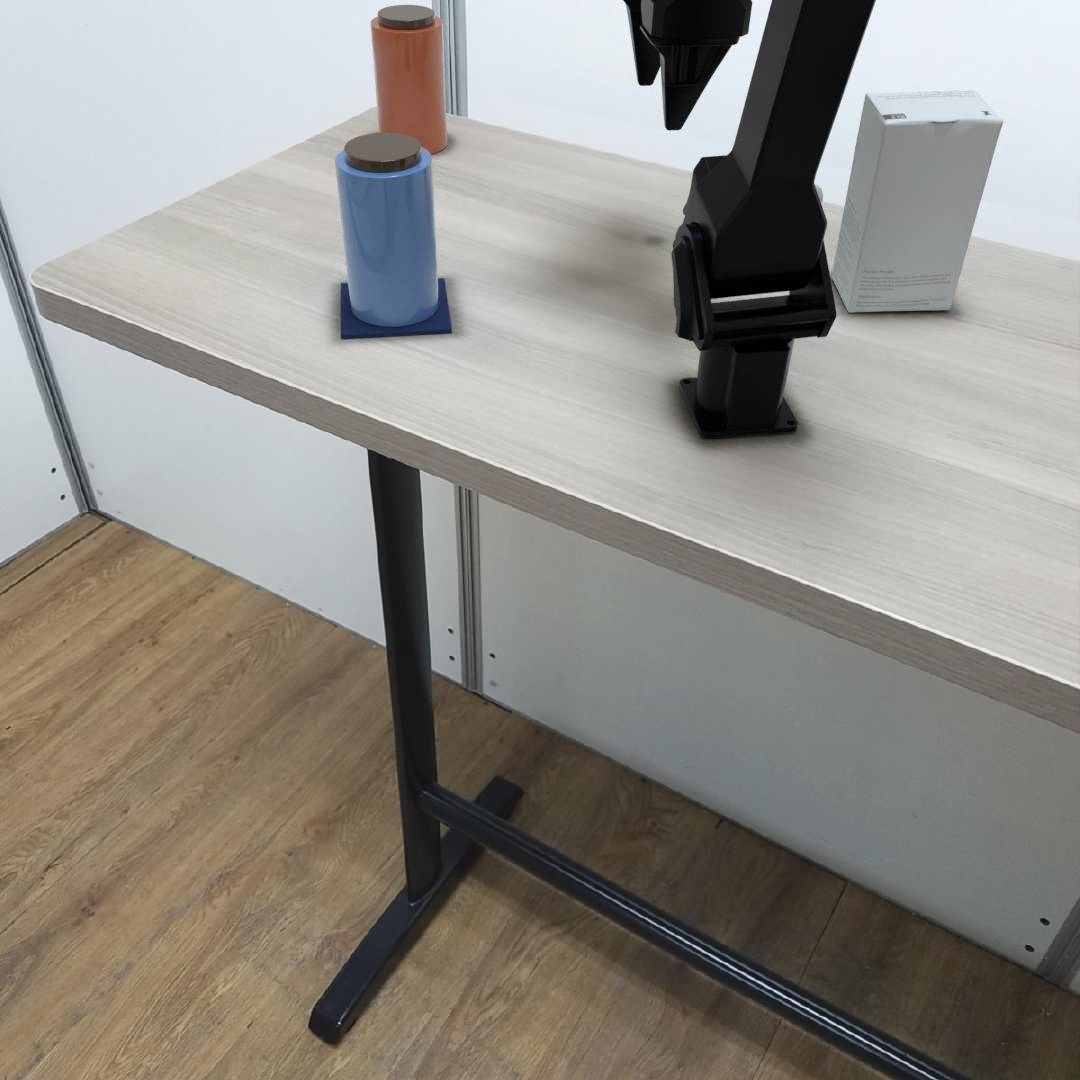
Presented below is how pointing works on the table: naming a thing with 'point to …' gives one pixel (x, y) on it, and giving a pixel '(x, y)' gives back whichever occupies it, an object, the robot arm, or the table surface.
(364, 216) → the blue jar
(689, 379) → the robot arm
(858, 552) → the table surface
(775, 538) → the table surface
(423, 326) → the blue mat
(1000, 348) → the table surface
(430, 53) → the terracotta jar
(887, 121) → the cosmetic box
